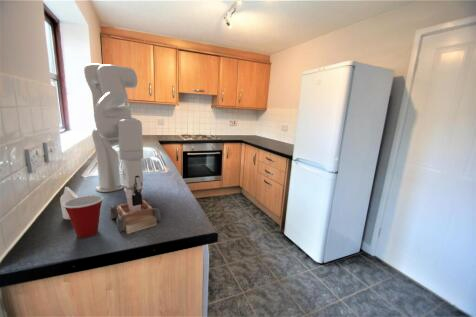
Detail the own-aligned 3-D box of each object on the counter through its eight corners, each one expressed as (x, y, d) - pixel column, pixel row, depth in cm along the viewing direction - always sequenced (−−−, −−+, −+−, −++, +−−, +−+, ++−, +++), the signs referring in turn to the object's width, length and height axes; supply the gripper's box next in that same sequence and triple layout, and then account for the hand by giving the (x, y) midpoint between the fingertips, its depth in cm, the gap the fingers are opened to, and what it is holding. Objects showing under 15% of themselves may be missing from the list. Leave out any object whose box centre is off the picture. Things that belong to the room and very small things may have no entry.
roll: (79, 186, 81) (60, 190, 76) (83, 216, 83) (64, 221, 79) (74, 182, 84) (56, 186, 80) (78, 211, 87) (60, 216, 83)
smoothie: (125, 216, 77) (123, 179, 74) (125, 209, 83) (123, 174, 80) (145, 213, 80) (143, 177, 77) (143, 206, 86) (141, 172, 83)
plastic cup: (103, 221, 80) (100, 191, 78) (109, 234, 72) (106, 201, 70) (65, 231, 73) (61, 197, 71) (68, 246, 65) (63, 209, 63)
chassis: (109, 215, 85) (108, 202, 84) (145, 206, 94) (144, 194, 93) (121, 235, 72) (120, 220, 71) (161, 223, 81) (161, 210, 80)
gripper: (114, 151, 81) (117, 196, 85) (127, 160, 68) (130, 213, 72) (135, 149, 86) (137, 192, 89) (151, 157, 73) (153, 207, 77)
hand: (134, 201), depth 81 cm, fingers closed on smoothie, 6 cm apart
